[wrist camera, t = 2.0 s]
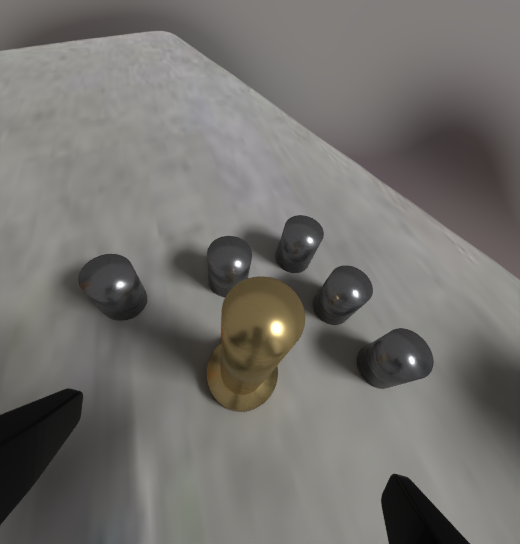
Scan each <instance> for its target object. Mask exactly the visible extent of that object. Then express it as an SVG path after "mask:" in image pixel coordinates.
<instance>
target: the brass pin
mask: <svg viewBox="0 0 520 544" xmlns="http://www.w3.org/2000/svg"><path fill="white" fill-rule="evenodd" d="M304 326H305V311H304V308H303V305H302V302H301V300H300V298H299V297H298V295H297V294H296V293H295V292H294V291H293V290H292V289H291V288H290V287H289V286H288V285H286V284H285V283H283V282H281V281H279V280H276V279H273V278H270V277H252V278H248V279H245V280H243V281H241V282H239V283H238V284H236V285H235V286H234V287H233V288H232V289H231V290H230V291H229V293H228V294H227V295H226V297H225V299H224V302H223V306H222V319H221V344H220V345H219V346H218V347H217V348H216V349H215V350H214V352H213V353H212V355H211V357H210V359H209V362H208V366H207V381H208V386H209V389H210V392H211V394H212V395H213V397H214V398H215V400H216V401H217V402H218V403H219V404H220V405H222V406H223V407H225V408H227V409H229V410H232V411H237V412H245V411H250V410H253V409H255V408H257V407H259V406H260V405H261V404H263V403H264V402H265V401H266V400H267V399H268V398H269V397H270V396H271V394H272V393H273V391H274V389H275V386H276V383H277V378H278V368H277V365H278V364H279V363H280V361H281V360H282V359H283V358H284V357H285V355H286V354H287V353H288V352H289V351H290V349H291V348H292V347H293V346H294V345H295V343H296V342H297V341H298V340H299V338H300V337H301V335H302V332H303V329H304Z"/></svg>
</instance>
